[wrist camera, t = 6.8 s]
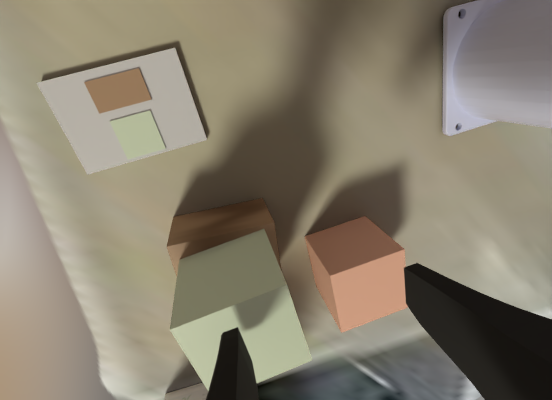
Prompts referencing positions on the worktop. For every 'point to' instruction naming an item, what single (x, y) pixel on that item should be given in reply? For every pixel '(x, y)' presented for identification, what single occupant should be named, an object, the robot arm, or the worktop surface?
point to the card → (125, 110)
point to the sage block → (237, 307)
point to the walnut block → (219, 228)
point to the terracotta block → (358, 272)
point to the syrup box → (189, 393)
